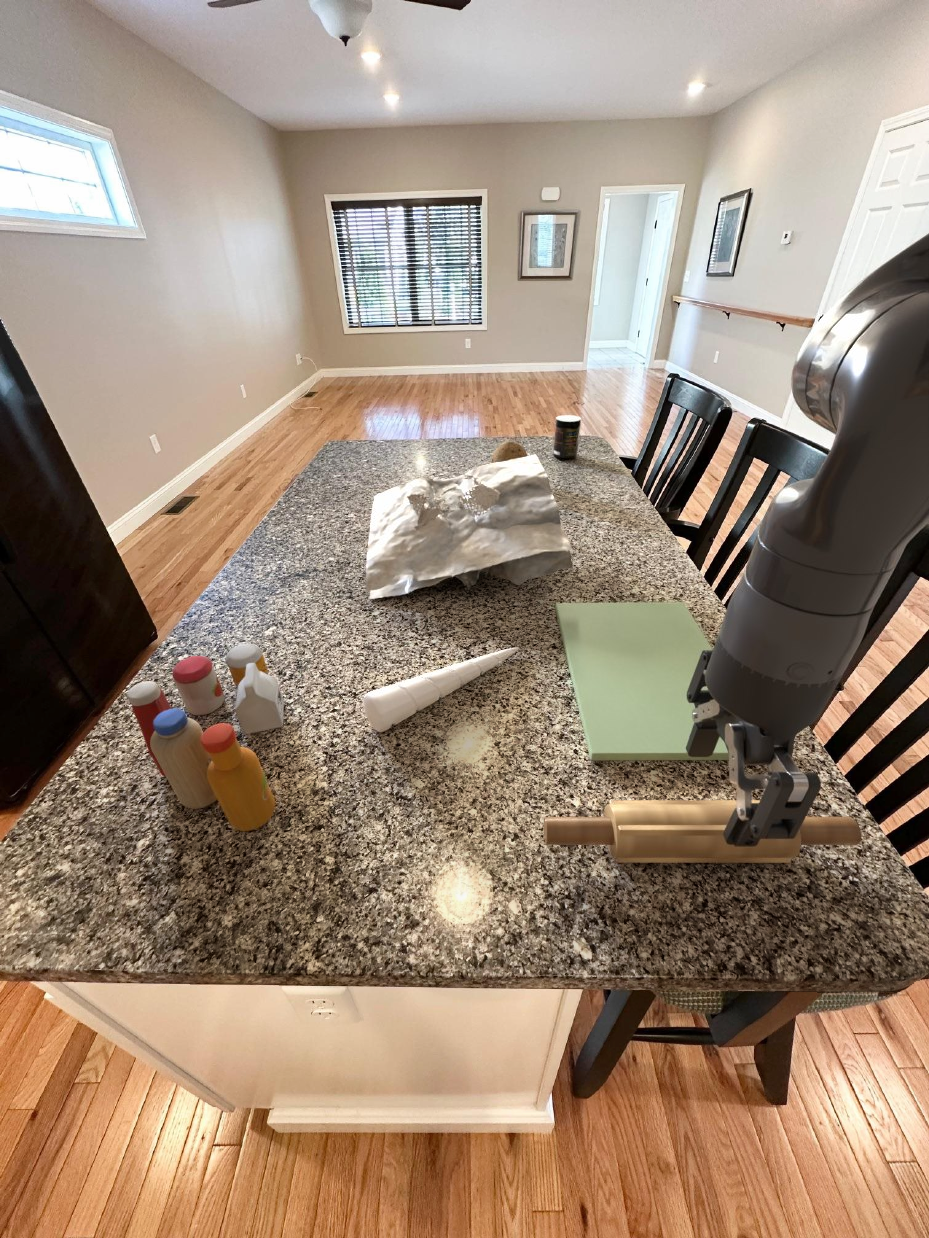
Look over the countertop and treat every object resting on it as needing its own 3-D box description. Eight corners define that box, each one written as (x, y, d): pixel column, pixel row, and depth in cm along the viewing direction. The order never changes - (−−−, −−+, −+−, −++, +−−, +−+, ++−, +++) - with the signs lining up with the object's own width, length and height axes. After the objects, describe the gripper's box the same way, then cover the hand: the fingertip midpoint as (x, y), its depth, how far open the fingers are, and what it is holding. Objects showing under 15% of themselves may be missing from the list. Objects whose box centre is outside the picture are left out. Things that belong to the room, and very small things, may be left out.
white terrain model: (349, 566, 79) (364, 475, 103) (380, 639, 90) (387, 541, 113) (575, 519, 76) (537, 437, 100) (579, 600, 87) (544, 508, 111)
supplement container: (582, 457, 142) (586, 418, 136) (565, 462, 139) (569, 423, 133) (564, 452, 147) (567, 413, 141) (547, 457, 143) (550, 418, 137)
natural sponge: (483, 483, 127) (483, 443, 122) (501, 473, 133) (502, 433, 128) (515, 490, 123) (517, 448, 117) (532, 479, 129) (535, 438, 123)
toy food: (280, 827, 51) (248, 745, 44) (140, 860, 48) (83, 779, 41) (285, 661, 72) (264, 588, 65) (188, 678, 70) (155, 604, 63)
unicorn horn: (536, 664, 70) (538, 636, 68) (380, 742, 60) (375, 712, 57) (514, 647, 74) (515, 619, 71) (363, 717, 63) (357, 688, 60)
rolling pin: (829, 831, 50) (841, 793, 48) (862, 870, 46) (877, 829, 44) (541, 831, 50) (543, 793, 49) (547, 869, 46) (549, 829, 45)
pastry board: (773, 760, 56) (776, 752, 56) (590, 760, 57) (591, 753, 56) (681, 608, 81) (683, 601, 80) (554, 609, 81) (555, 603, 81)
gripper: (915, 722, 28) (805, 877, 37) (785, 585, 40) (726, 730, 49) (776, 721, 28) (701, 876, 38) (688, 586, 40) (647, 730, 49)
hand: (715, 793), depth 43 cm, fingers open, 8 cm apart
